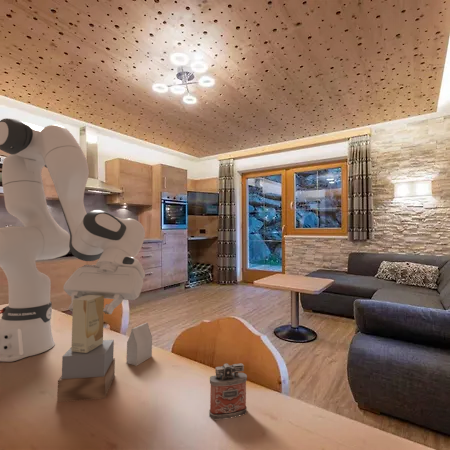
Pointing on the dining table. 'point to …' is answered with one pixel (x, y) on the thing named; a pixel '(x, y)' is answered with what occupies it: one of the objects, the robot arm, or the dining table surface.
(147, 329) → the white red printed carton
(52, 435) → the dining table surface
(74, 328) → the skincare box
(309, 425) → the dining table surface
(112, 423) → the dining table surface
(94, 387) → the tower base block
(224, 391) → the lighter
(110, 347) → the tower top block
